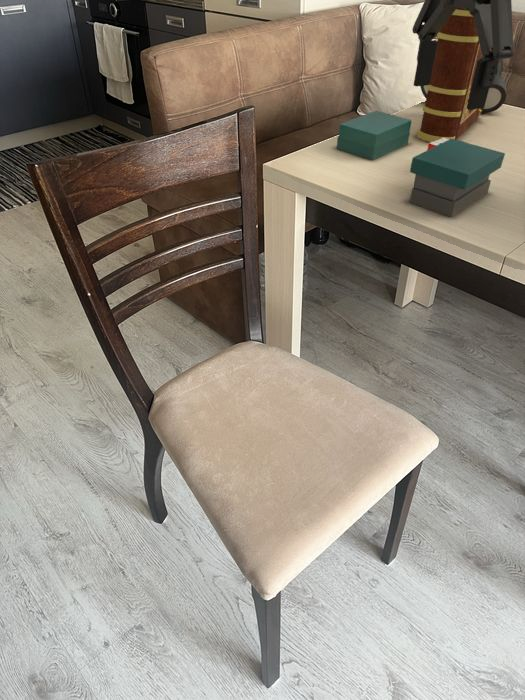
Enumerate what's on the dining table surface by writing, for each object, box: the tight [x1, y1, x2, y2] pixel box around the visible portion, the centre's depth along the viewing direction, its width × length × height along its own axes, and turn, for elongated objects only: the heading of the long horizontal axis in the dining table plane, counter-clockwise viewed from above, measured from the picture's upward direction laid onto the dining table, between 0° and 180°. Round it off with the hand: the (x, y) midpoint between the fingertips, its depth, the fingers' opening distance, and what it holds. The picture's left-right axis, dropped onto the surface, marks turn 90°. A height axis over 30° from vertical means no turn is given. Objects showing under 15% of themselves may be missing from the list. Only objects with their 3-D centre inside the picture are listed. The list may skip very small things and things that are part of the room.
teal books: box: [336, 110, 412, 161], centre depth 114 cm, size 9×13×5 cm
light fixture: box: [419, 59, 507, 114], centre depth 137 cm, size 21×17×12 cm
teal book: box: [409, 139, 506, 190], centre depth 92 cm, size 10×13×2 cm
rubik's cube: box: [426, 138, 450, 151], centre depth 104 cm, size 5×5×5 cm
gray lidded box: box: [409, 174, 492, 218], centre depth 95 cm, size 8×13×5 cm, turn 137°
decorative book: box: [417, 3, 492, 143], centre depth 115 cm, size 22×8×30 cm, turn 148°
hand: (446, 96), depth 87 cm, fingers open, 13 cm apart
